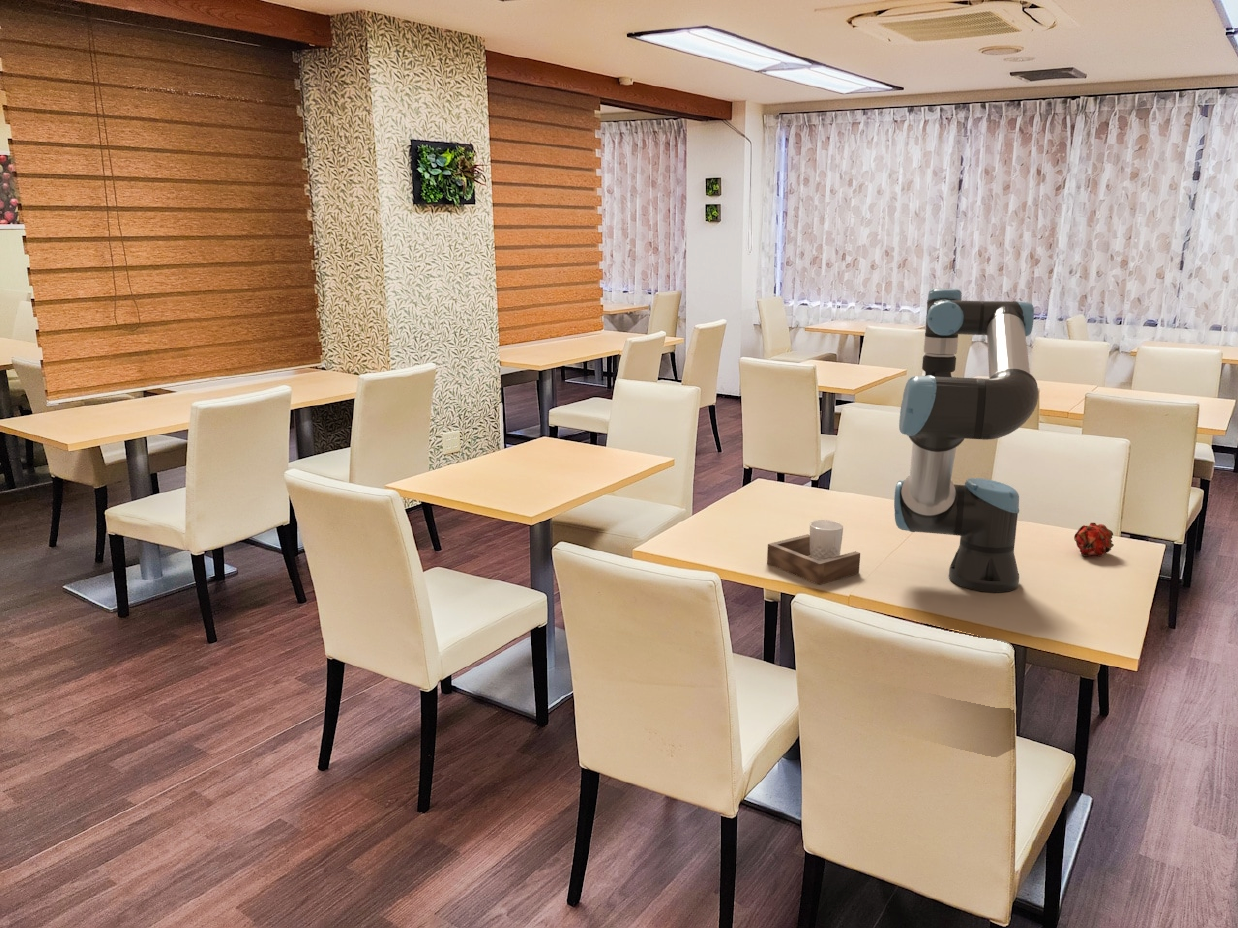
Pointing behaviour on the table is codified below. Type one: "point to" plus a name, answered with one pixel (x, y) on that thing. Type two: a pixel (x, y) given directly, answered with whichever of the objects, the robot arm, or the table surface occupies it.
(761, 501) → the table surface
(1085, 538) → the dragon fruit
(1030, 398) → the robot arm
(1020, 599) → the table surface
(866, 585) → the table surface
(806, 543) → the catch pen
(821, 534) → the white cup
